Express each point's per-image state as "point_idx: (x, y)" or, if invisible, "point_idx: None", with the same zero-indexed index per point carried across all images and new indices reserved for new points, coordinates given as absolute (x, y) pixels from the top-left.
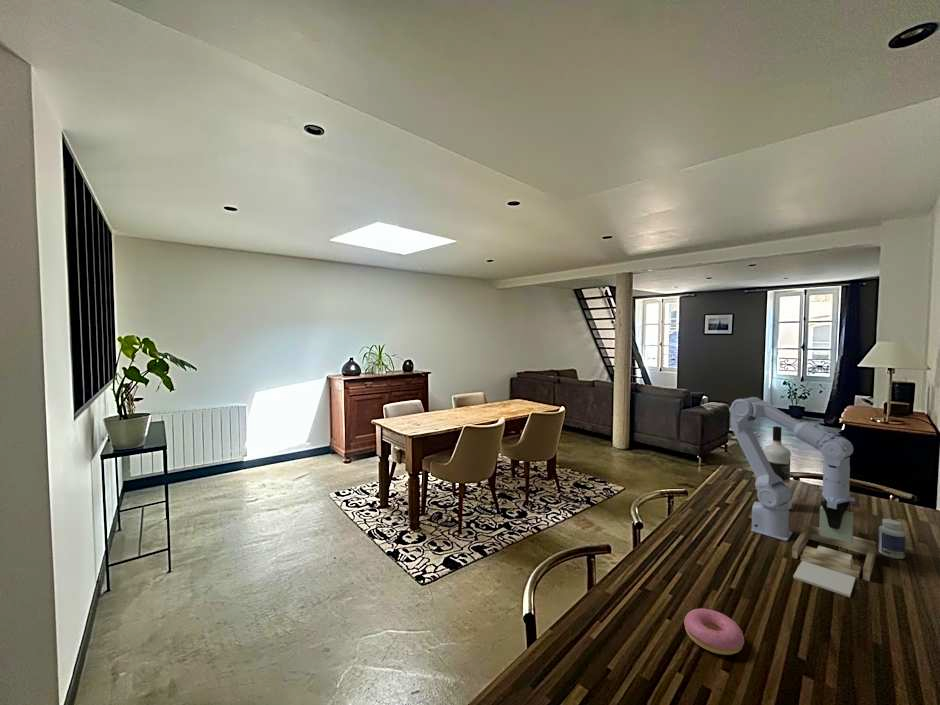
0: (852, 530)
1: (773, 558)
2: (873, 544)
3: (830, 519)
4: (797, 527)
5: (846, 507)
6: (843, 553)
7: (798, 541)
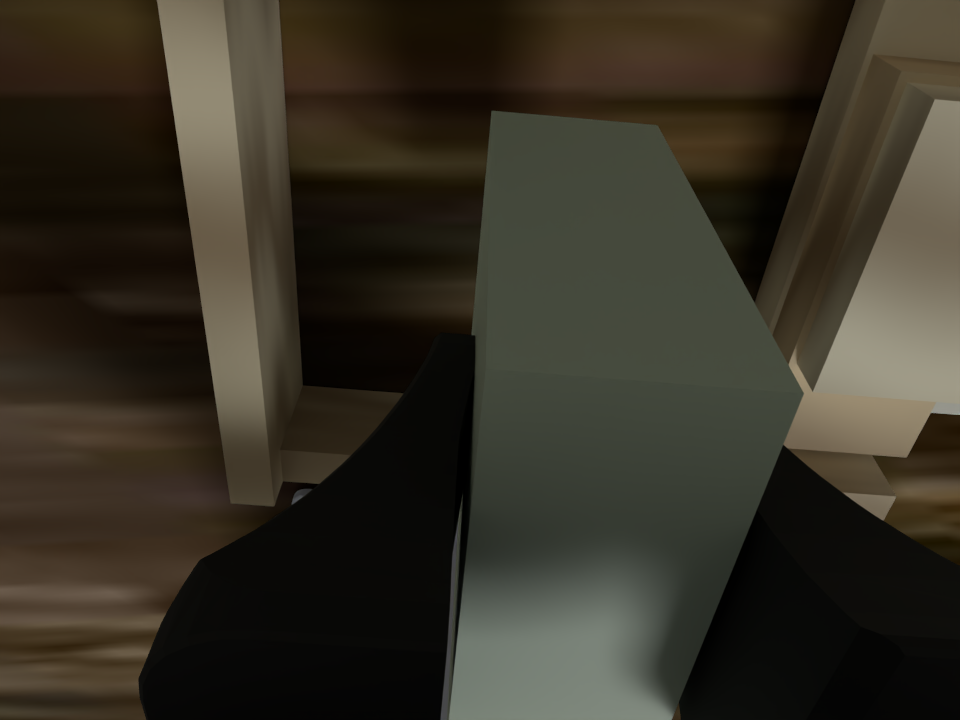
0: (598, 187)
1: (932, 537)
2: None
3: None
4: (93, 464)
5: (916, 671)
6: (928, 186)
7: None
